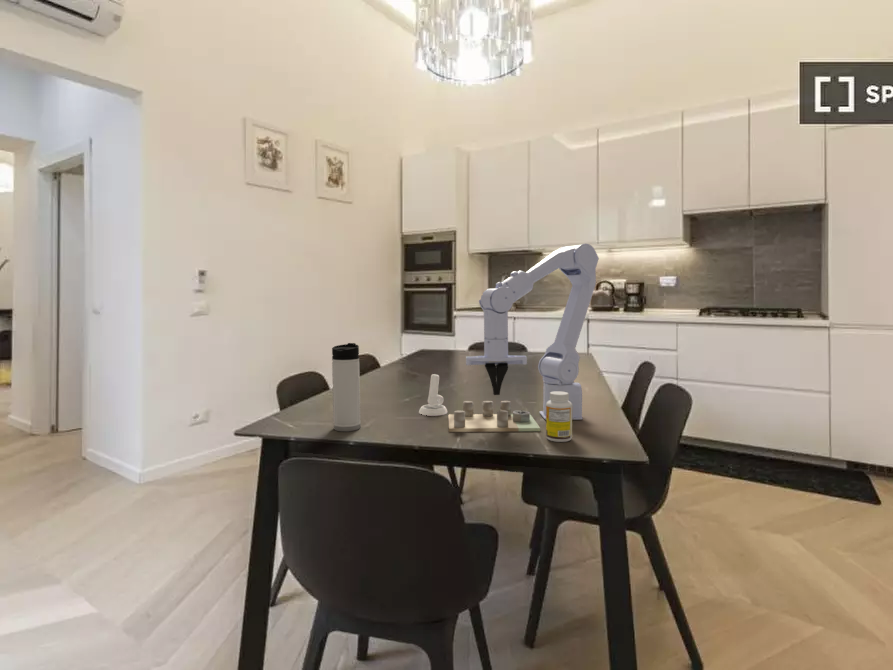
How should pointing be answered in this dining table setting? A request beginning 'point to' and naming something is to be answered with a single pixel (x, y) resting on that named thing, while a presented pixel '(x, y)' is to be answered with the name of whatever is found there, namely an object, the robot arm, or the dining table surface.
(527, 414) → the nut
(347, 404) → the travel mug
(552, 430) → the supplement bottle
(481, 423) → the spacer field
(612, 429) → the dining table surface
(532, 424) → the felt mat
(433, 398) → the hook
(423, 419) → the dining table surface
